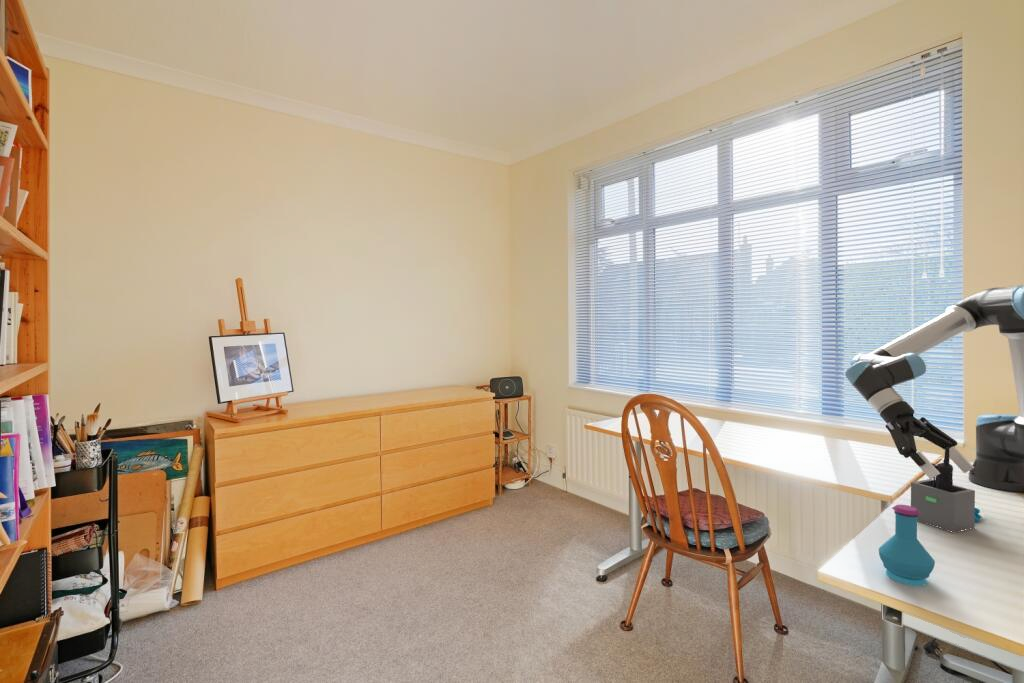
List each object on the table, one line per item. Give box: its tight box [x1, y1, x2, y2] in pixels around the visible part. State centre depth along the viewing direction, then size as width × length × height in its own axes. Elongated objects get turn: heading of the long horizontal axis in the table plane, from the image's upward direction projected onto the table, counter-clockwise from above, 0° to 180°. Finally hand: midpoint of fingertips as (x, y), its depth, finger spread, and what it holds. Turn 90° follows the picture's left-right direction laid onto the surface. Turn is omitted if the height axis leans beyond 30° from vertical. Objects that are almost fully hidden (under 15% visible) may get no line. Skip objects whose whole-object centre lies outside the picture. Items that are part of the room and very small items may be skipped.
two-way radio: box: [931, 447, 954, 493], centre depth 127 cm, size 6×4×15 cm
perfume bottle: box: [878, 504, 936, 587], centre depth 101 cm, size 9×9×15 cm
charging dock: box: [910, 478, 976, 533], centre depth 127 cm, size 8×10×10 cm
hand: (952, 473), depth 124 cm, fingers open, 13 cm apart
